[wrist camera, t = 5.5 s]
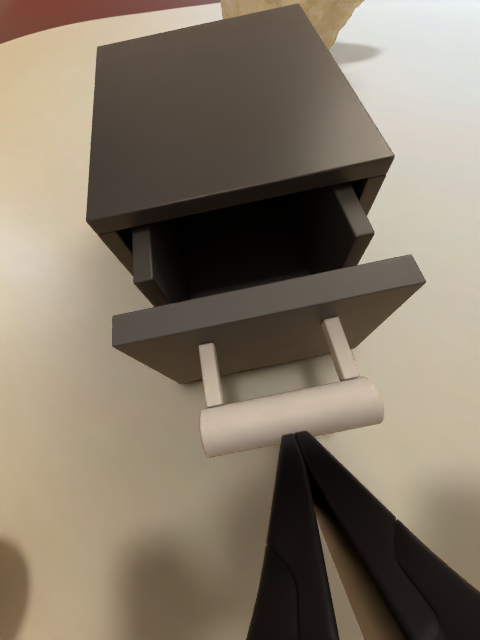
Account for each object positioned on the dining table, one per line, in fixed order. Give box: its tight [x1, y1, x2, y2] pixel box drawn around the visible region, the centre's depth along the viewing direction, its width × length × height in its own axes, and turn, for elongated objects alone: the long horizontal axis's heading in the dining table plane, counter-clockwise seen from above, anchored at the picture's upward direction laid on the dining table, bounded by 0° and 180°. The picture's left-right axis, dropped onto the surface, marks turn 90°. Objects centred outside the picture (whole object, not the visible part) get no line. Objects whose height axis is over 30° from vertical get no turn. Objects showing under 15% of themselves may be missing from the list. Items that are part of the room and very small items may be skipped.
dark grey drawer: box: [112, 182, 426, 458], centre depth 14 cm, size 16×11×8 cm, turn 10°
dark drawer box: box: [86, 3, 394, 276], centre depth 17 cm, size 14×12×10 cm
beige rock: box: [221, 0, 364, 50], centre depth 28 cm, size 15×7×15 cm
